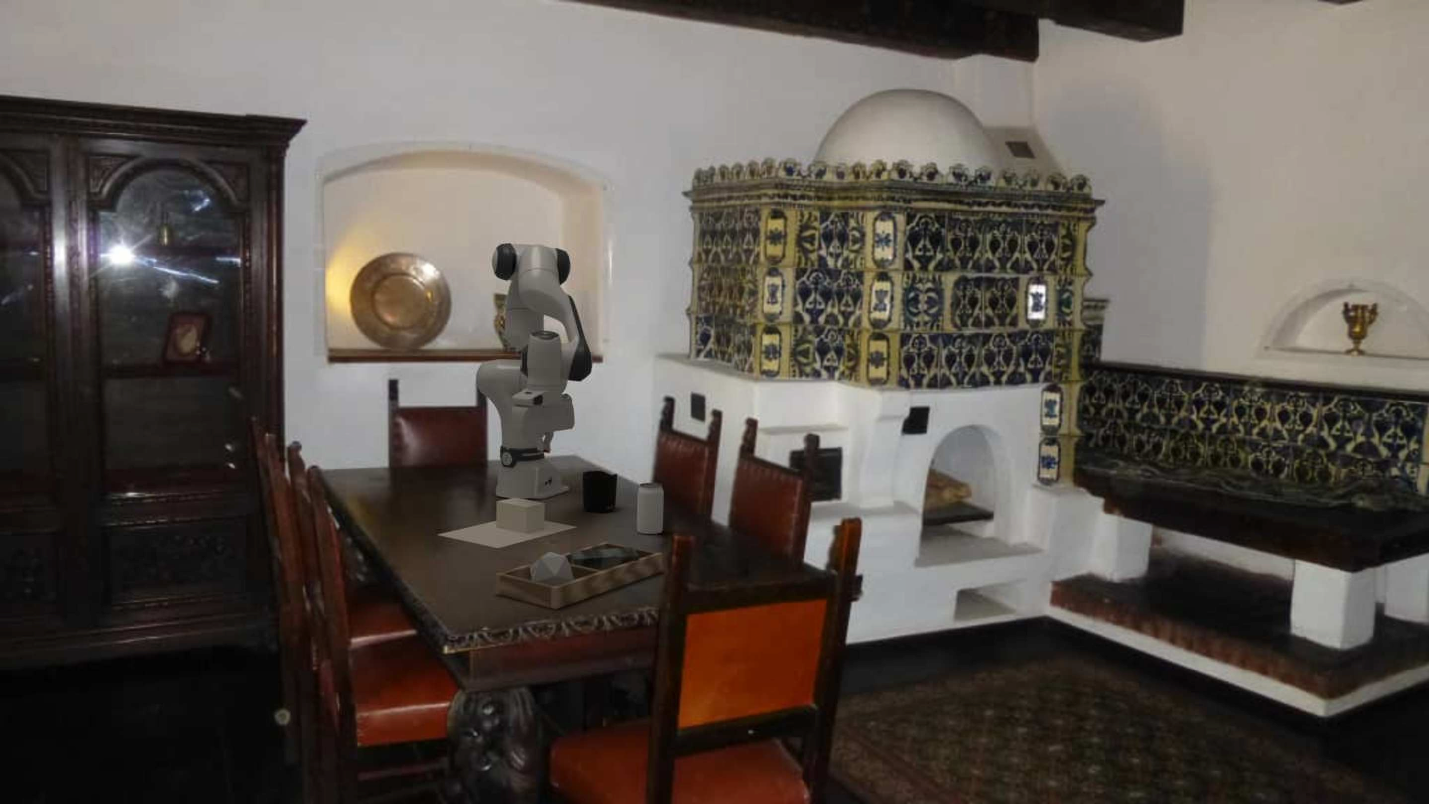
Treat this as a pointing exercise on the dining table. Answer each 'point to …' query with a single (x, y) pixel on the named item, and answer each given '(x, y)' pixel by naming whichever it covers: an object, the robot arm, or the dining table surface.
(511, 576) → the walnut tray
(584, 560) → the stone block
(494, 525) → the felt mat
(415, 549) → the dining table surface
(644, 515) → the can
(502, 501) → the plain beige block
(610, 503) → the pen holder
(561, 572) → the die
